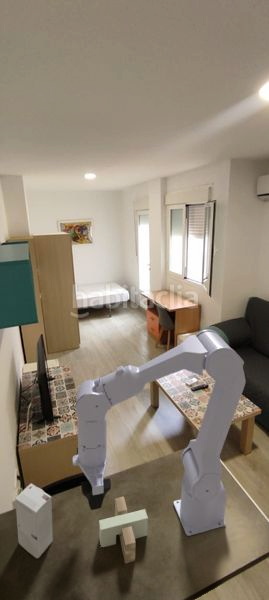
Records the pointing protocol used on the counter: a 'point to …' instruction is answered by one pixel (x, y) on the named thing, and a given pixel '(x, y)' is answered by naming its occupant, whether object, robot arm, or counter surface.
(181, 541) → the counter surface
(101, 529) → the slotted plate
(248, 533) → the counter surface
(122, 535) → the wooden notched block
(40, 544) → the skincare box
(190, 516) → the robot arm
